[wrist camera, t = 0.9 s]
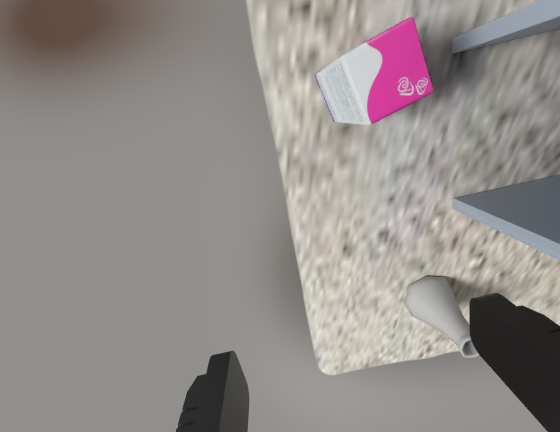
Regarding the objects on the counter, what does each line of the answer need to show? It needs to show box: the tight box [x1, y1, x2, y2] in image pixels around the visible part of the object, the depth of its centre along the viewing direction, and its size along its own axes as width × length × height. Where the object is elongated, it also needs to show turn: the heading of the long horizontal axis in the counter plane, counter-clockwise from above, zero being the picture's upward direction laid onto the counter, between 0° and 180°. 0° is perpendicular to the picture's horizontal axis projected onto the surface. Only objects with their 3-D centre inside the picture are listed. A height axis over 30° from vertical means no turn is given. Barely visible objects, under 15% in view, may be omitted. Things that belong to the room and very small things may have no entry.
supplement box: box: [315, 17, 433, 125], centre depth 26 cm, size 6×6×12 cm
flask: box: [404, 276, 479, 358], centre depth 37 cm, size 7×7×10 cm
